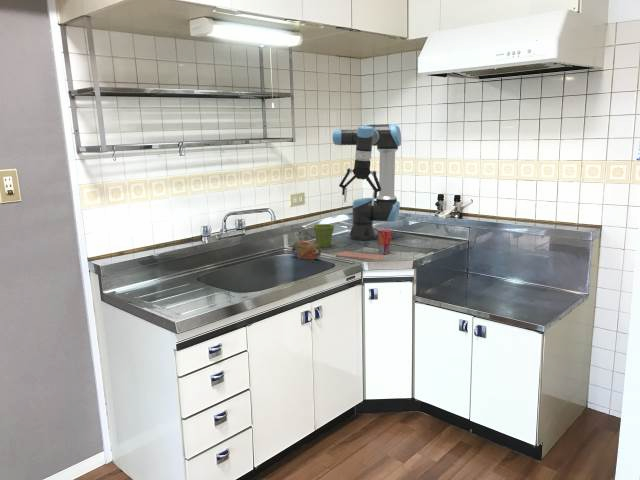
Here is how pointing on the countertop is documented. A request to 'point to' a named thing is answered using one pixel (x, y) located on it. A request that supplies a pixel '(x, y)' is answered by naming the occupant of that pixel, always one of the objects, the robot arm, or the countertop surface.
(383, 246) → the cup
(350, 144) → the robot arm
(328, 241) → the plant pot
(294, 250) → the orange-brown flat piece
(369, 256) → the mat
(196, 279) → the countertop surface
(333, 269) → the countertop surface
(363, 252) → the pink thin bar
